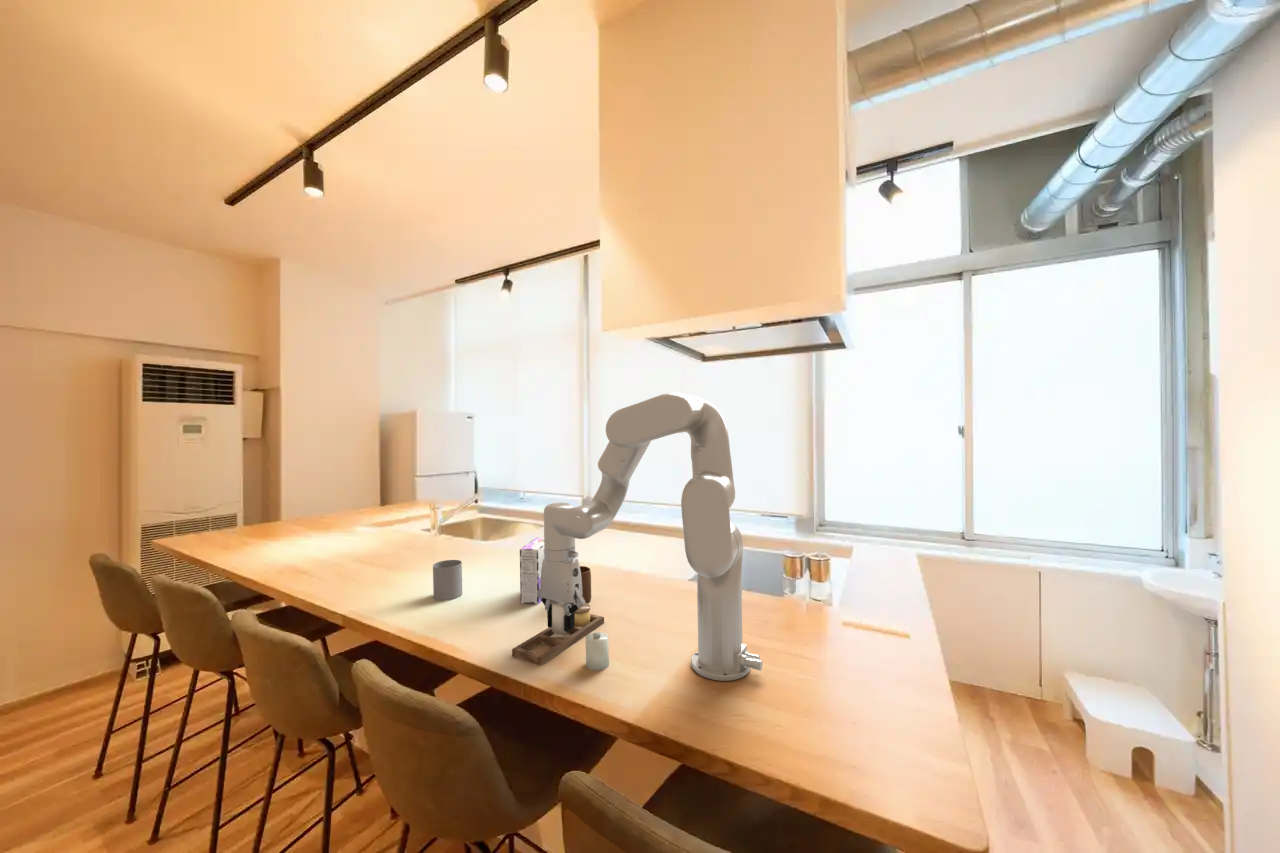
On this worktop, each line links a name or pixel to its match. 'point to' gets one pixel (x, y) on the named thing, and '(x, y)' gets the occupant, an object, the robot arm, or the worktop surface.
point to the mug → (585, 583)
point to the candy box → (531, 570)
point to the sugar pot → (597, 651)
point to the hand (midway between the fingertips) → (561, 626)
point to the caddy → (554, 642)
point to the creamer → (558, 617)
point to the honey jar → (582, 615)
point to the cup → (447, 580)
